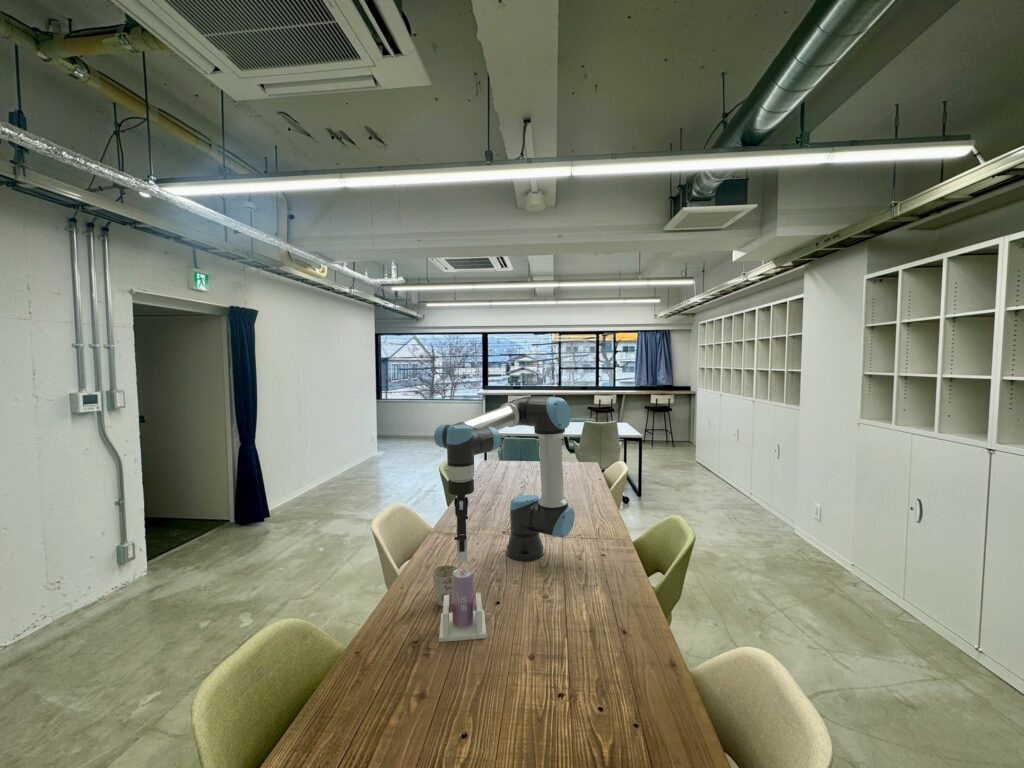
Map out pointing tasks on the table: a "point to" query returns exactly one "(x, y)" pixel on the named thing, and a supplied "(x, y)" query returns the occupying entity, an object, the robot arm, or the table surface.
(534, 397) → the robot arm
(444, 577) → the mug
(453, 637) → the holder
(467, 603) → the beverage can
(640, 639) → the table surface
